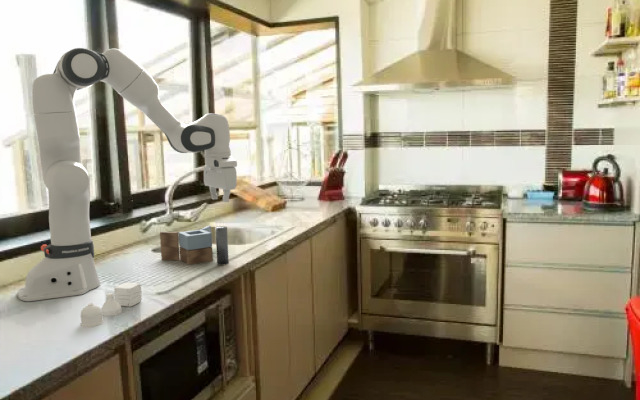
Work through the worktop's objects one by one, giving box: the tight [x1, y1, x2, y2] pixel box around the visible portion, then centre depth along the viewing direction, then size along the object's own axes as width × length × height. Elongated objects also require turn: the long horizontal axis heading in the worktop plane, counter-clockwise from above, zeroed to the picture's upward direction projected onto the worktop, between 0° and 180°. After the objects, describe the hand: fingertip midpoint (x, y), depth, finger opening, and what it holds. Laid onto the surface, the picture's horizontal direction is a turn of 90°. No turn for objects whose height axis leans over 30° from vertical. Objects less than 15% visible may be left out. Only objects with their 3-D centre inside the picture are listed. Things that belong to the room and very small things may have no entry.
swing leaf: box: [178, 225, 213, 250], centre depth 193 cm, size 14×14×10 cm
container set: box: [80, 282, 143, 328], centre depth 136 cm, size 20×5×6 cm, turn 165°
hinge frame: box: [159, 231, 214, 266], centre depth 190 cm, size 14×14×10 cm
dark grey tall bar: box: [215, 225, 230, 265], centre depth 184 cm, size 4×4×13 cm
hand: (220, 200), depth 182 cm, fingers open, 8 cm apart
